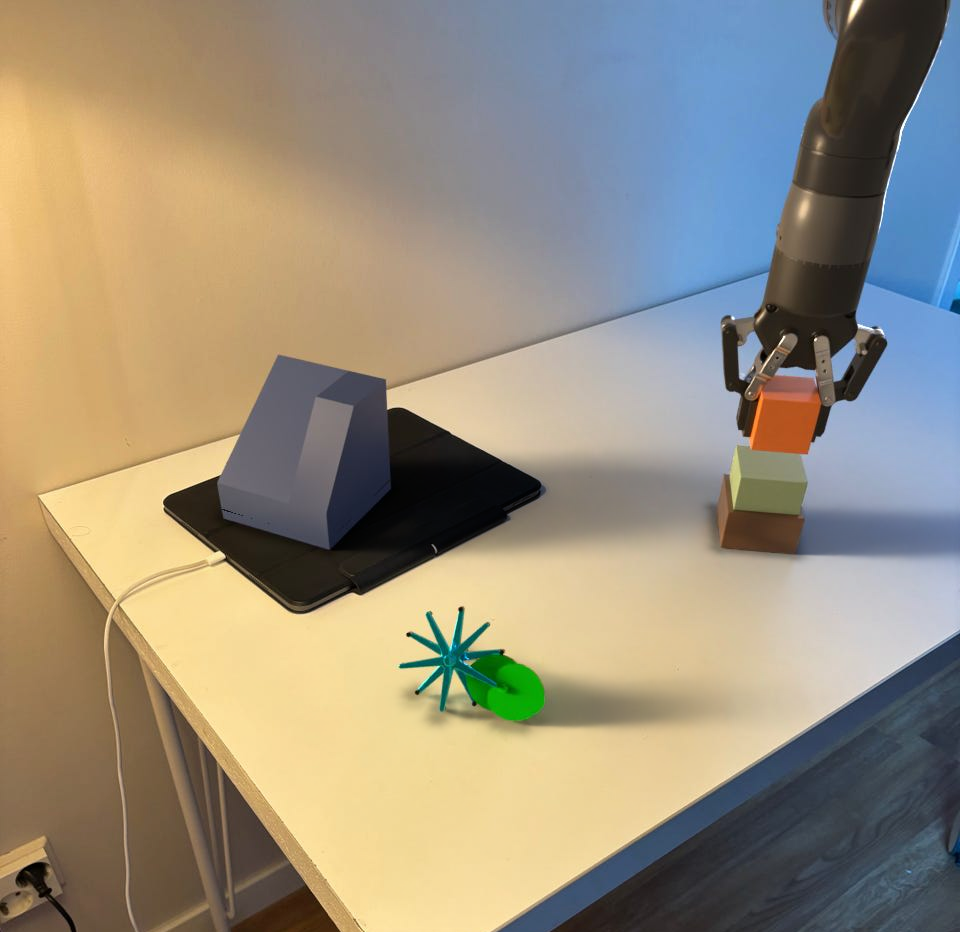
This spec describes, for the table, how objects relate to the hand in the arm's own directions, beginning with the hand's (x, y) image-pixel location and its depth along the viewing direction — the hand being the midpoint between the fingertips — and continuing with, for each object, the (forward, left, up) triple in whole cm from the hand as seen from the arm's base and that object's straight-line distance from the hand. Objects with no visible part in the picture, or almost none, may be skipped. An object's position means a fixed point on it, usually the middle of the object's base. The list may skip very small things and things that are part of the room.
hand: (777, 434), depth 89 cm
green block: (0, 0, -6) cm, 6 cm away
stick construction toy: (+24, +26, -11) cm, 37 cm away
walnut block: (0, 0, -10) cm, 10 cm away
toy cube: (0, 0, 0) cm, 0 cm away
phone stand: (+44, +2, -11) cm, 45 cm away
